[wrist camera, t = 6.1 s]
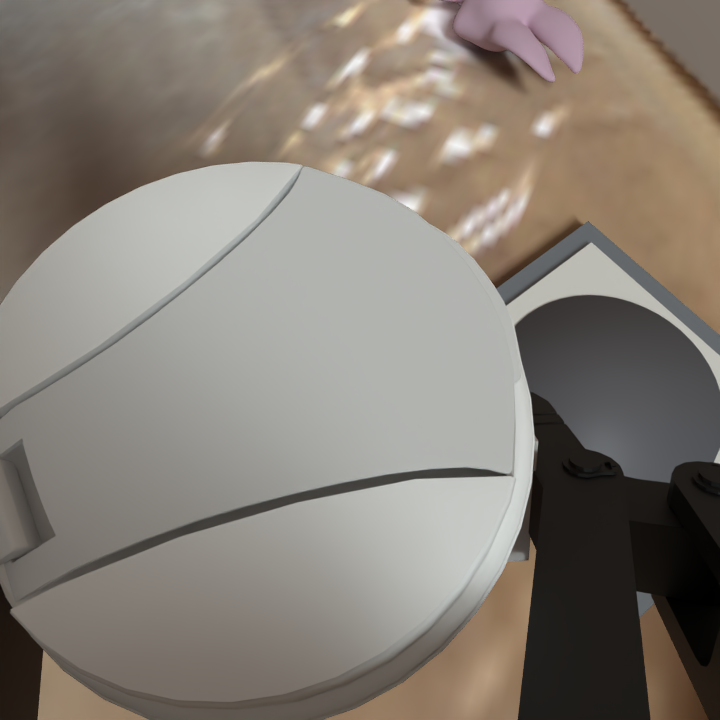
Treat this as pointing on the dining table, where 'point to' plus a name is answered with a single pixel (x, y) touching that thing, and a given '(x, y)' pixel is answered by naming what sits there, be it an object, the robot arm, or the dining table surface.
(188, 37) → the dining table surface
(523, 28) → the pink unicorn toy
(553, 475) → the robot arm
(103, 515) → the paper cup
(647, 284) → the board
